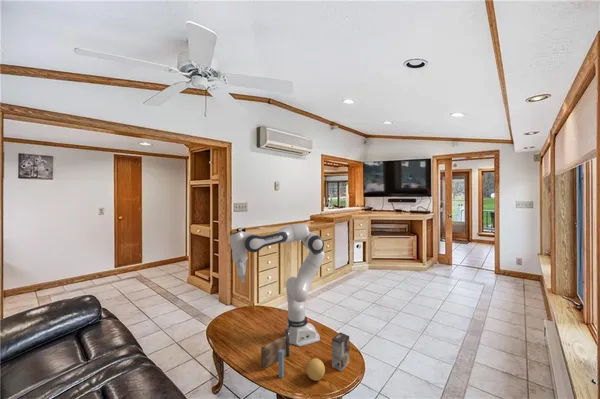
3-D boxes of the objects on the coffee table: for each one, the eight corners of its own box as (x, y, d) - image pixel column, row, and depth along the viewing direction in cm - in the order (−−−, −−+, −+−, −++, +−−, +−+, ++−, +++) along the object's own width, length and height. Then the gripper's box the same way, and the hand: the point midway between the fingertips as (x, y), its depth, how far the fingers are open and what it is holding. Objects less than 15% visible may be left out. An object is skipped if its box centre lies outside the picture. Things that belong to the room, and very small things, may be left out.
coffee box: (339, 358, 160) (340, 331, 159) (349, 363, 156) (349, 335, 155) (331, 366, 153) (331, 338, 152) (341, 371, 149) (341, 342, 148)
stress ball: (326, 382, 142) (326, 361, 149) (322, 377, 135) (322, 355, 143) (308, 383, 144) (308, 361, 151) (303, 377, 138) (304, 355, 145)
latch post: (280, 374, 147) (280, 349, 146) (283, 375, 146) (283, 349, 146) (278, 377, 144) (278, 351, 144) (282, 378, 144) (282, 352, 143)
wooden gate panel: (284, 354, 162) (284, 335, 162) (286, 356, 161) (286, 337, 160) (261, 367, 151) (261, 347, 150) (263, 369, 149) (263, 349, 149)
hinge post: (285, 353, 165) (285, 328, 164) (290, 354, 164) (290, 328, 163) (284, 356, 162) (283, 330, 161) (289, 357, 161) (289, 331, 160)
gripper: (244, 260, 157) (248, 283, 157) (246, 254, 178) (249, 275, 177) (233, 262, 156) (237, 286, 156) (236, 256, 177) (240, 277, 177)
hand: (243, 280), depth 167 cm, fingers open, 8 cm apart
